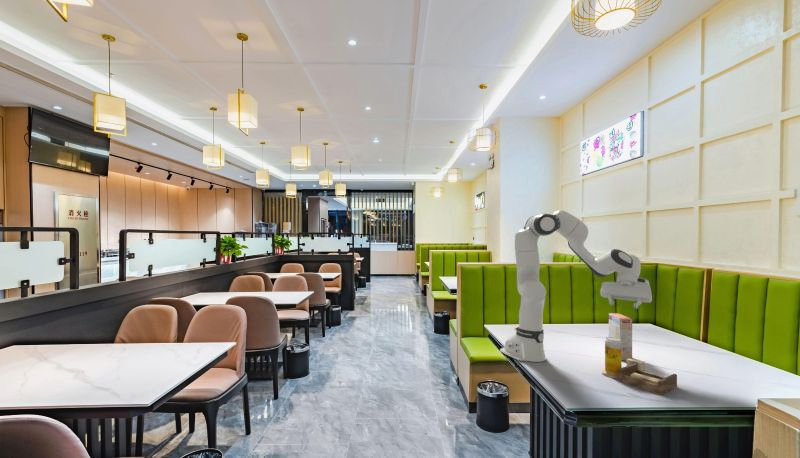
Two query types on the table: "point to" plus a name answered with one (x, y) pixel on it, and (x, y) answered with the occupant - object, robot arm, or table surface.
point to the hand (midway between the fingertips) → (623, 305)
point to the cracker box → (621, 333)
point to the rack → (663, 384)
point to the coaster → (609, 375)
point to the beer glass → (612, 356)
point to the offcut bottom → (645, 378)
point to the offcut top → (632, 361)
